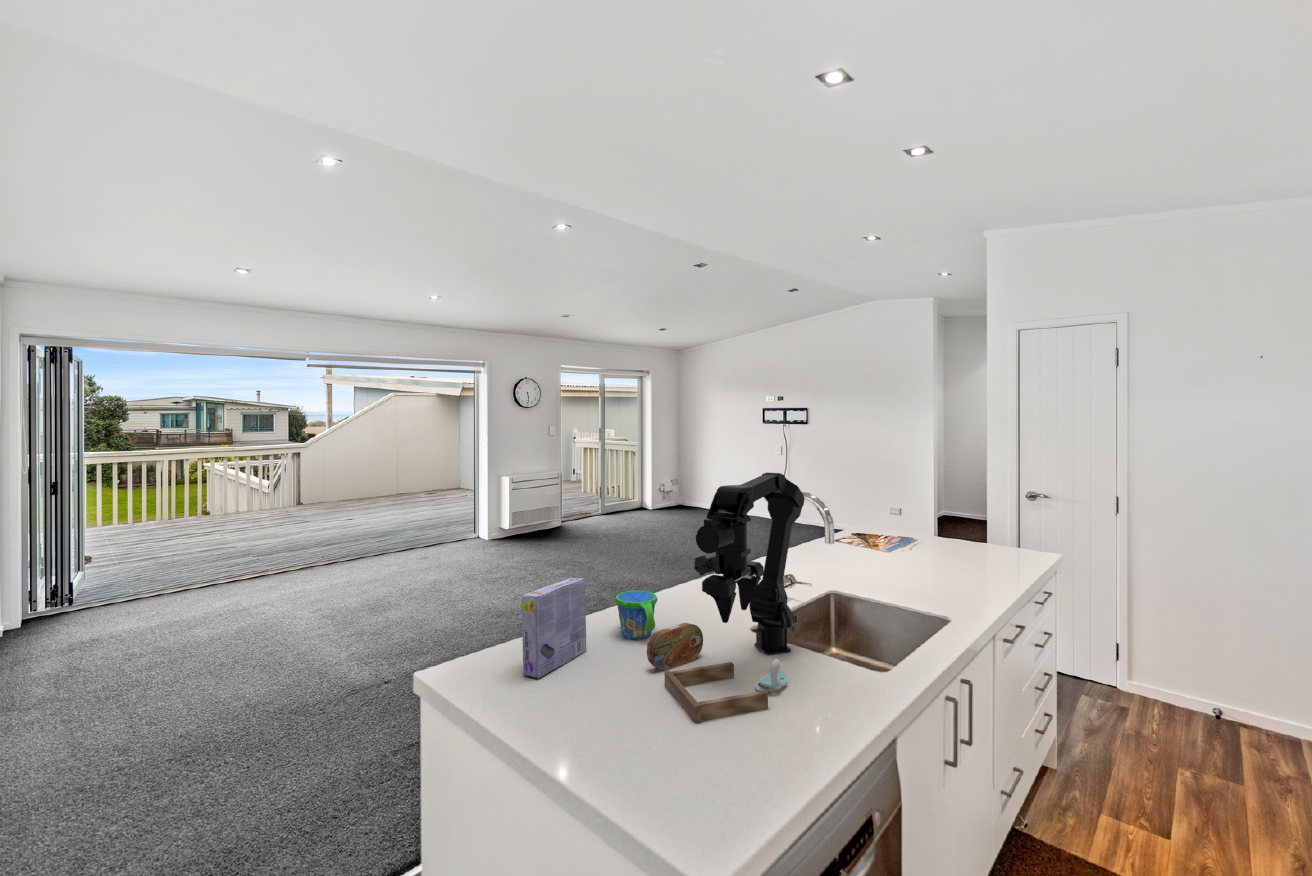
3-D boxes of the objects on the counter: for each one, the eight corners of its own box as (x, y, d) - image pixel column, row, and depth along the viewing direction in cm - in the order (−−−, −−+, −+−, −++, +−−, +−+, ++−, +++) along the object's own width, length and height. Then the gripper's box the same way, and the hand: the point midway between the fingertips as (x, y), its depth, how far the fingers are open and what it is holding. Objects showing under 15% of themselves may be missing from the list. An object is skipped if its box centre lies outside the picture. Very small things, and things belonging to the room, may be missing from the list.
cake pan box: (573, 646, 143) (572, 574, 142) (590, 649, 140) (589, 576, 140) (520, 676, 126) (519, 594, 125) (538, 680, 123) (537, 598, 123)
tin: (653, 675, 126) (653, 636, 126) (644, 670, 128) (644, 632, 128) (704, 657, 135) (704, 621, 135) (695, 653, 138) (695, 617, 137)
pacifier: (748, 691, 118) (776, 698, 115) (747, 660, 118) (775, 666, 115) (763, 678, 124) (790, 684, 121) (762, 649, 124) (789, 654, 121)
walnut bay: (731, 675, 125) (730, 661, 125) (768, 709, 110) (768, 693, 110) (664, 686, 120) (664, 671, 120) (694, 723, 105) (694, 706, 105)
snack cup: (667, 642, 144) (667, 601, 144) (627, 649, 140) (627, 607, 140) (644, 623, 159) (644, 586, 159) (607, 628, 155) (607, 590, 155)
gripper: (720, 533, 138) (721, 598, 138) (679, 549, 122) (680, 622, 123) (764, 538, 132) (765, 606, 132) (727, 555, 116) (728, 632, 117)
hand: (734, 616), depth 126 cm, fingers open, 9 cm apart
